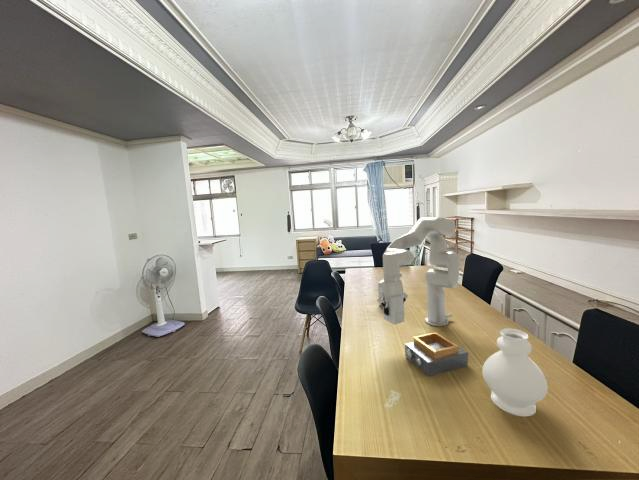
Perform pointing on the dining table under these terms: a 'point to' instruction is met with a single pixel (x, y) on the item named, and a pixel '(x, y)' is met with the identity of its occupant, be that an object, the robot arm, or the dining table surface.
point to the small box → (395, 310)
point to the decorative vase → (514, 375)
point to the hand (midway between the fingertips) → (393, 312)
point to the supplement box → (380, 289)
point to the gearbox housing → (435, 354)
